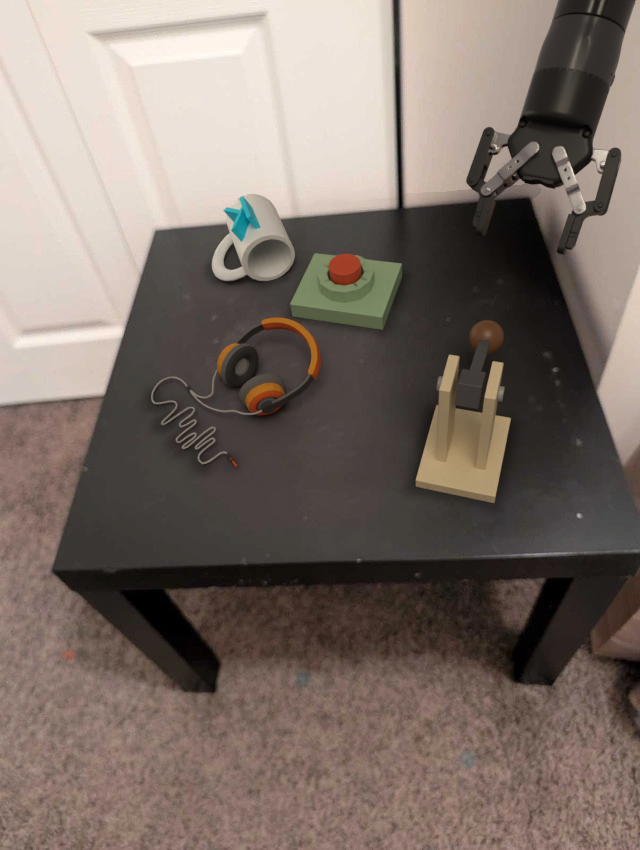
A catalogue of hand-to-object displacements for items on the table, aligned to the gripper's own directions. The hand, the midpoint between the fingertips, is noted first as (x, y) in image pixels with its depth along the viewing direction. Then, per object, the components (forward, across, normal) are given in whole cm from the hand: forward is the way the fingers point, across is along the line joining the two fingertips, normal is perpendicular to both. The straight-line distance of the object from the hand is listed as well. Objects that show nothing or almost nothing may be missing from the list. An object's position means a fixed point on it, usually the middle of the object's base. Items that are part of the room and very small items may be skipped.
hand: (519, 244), depth 70 cm
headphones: (+24, -24, -5) cm, 35 cm away
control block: (+10, -21, +8) cm, 25 cm away
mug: (+9, -37, +10) cm, 40 cm away
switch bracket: (+22, +2, -4) cm, 23 cm away
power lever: (+14, +1, -6) cm, 15 cm away
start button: (+8, -21, +6) cm, 23 cm away
